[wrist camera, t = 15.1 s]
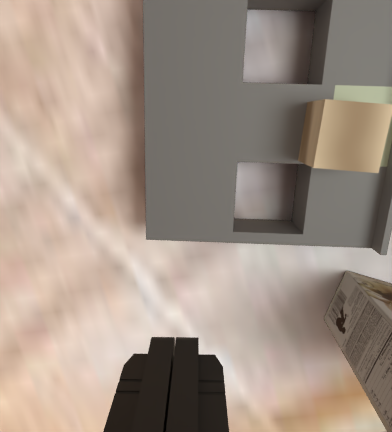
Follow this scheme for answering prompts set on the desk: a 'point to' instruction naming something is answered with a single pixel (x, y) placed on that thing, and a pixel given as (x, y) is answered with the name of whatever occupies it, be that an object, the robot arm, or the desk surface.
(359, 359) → the coffee box
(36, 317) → the desk surface
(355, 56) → the plate
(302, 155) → the block
